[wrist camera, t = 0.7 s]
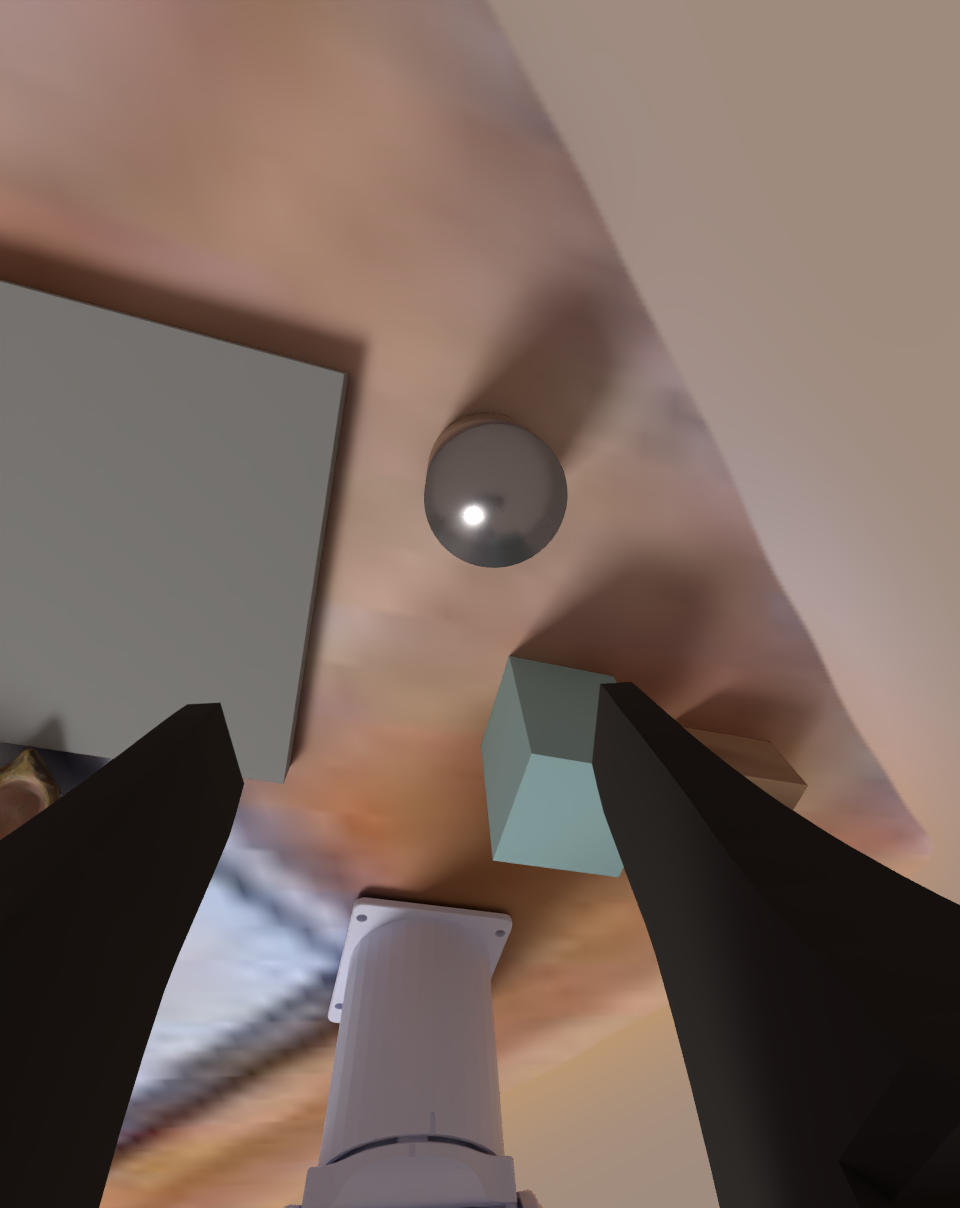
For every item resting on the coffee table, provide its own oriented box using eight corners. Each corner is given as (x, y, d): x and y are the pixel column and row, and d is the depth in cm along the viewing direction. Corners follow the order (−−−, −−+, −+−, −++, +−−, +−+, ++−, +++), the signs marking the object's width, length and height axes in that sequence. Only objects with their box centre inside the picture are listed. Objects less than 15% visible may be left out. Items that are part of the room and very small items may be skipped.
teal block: (578, 760, 24) (618, 877, 19) (480, 744, 23) (492, 860, 18) (613, 675, 22) (668, 776, 17) (509, 655, 22) (531, 753, 16)
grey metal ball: (524, 540, 20) (543, 580, 16) (416, 515, 19) (410, 550, 16) (557, 429, 18) (586, 445, 15) (442, 398, 18) (442, 407, 14)
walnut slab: (722, 820, 27) (754, 873, 24) (627, 806, 26) (649, 859, 23) (767, 738, 25) (807, 785, 22) (665, 721, 24) (694, 767, 21)
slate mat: (289, 767, 23) (283, 783, 22) (-24, 719, 21) (-44, 735, 20) (349, 373, 17) (343, 374, 16) (-80, 257, 15) (-113, 250, 14)
